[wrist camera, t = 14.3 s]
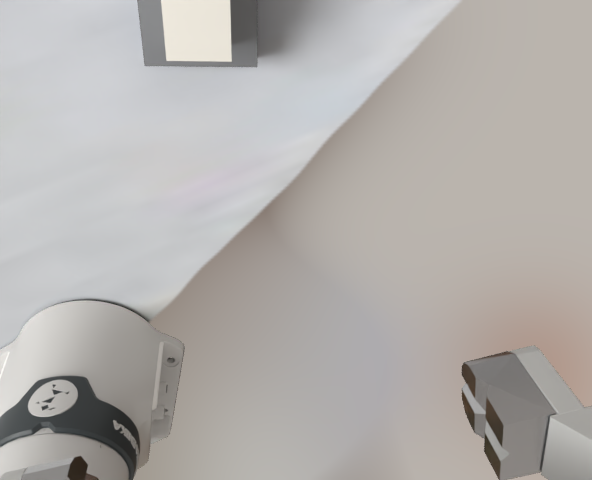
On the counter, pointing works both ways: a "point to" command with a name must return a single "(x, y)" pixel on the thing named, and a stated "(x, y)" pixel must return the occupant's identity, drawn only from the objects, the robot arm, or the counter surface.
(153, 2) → the power strip
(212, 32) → the plug
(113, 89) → the counter surface
